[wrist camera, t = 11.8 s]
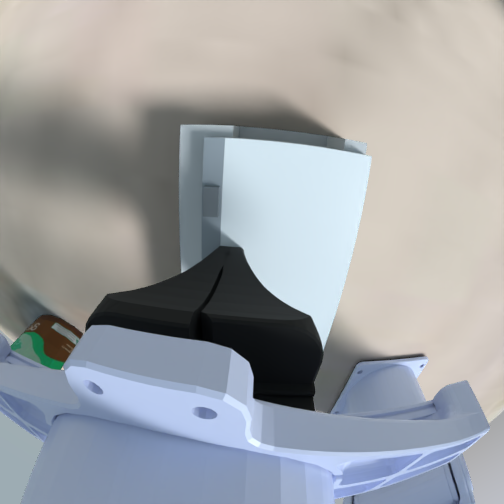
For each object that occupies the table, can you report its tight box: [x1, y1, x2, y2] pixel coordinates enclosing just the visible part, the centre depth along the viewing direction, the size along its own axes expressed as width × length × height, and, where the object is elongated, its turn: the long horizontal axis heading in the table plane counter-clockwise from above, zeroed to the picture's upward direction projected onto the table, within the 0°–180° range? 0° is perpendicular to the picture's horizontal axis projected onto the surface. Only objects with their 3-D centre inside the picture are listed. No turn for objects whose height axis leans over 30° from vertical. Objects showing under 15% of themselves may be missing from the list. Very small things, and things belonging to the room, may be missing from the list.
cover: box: [202, 137, 372, 350], centre depth 13 cm, size 13×7×1 cm, turn 176°
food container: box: [10, 315, 83, 370], centre depth 17 cm, size 12×6×10 cm, turn 133°
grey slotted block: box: [179, 125, 367, 273], centre depth 15 cm, size 14×8×4 cm, turn 176°
